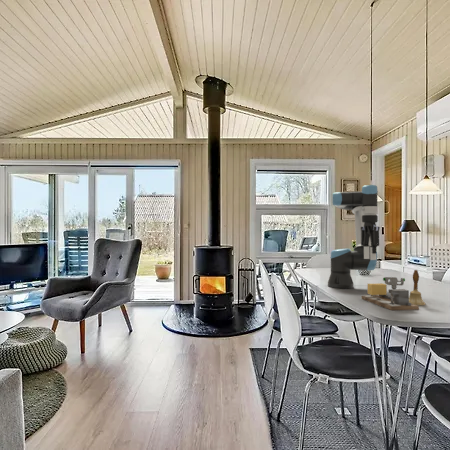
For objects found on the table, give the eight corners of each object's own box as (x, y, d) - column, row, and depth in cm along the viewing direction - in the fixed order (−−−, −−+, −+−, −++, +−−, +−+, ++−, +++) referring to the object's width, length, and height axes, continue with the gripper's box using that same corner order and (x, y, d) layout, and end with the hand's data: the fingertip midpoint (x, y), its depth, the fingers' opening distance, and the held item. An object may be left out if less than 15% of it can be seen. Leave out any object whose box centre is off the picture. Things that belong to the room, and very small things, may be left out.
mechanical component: (405, 297, 170) (405, 278, 170) (384, 296, 172) (384, 277, 172) (403, 296, 173) (403, 277, 173) (382, 295, 175) (382, 276, 175)
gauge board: (361, 298, 167) (361, 283, 167) (385, 298, 168) (385, 282, 168) (391, 310, 143) (391, 291, 143) (418, 309, 144) (418, 291, 145)
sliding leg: (367, 295, 165) (367, 283, 165) (382, 294, 166) (382, 283, 166) (371, 296, 161) (371, 284, 161) (386, 296, 162) (386, 284, 162)
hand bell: (419, 301, 160) (419, 269, 160) (429, 305, 152) (429, 271, 152) (402, 301, 160) (402, 269, 161) (411, 305, 152) (411, 271, 152)
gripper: (353, 215, 180) (353, 257, 179) (373, 213, 161) (373, 261, 161) (366, 215, 181) (366, 257, 180) (387, 214, 162) (387, 260, 162)
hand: (369, 259), depth 171 cm, fingers open, 5 cm apart
